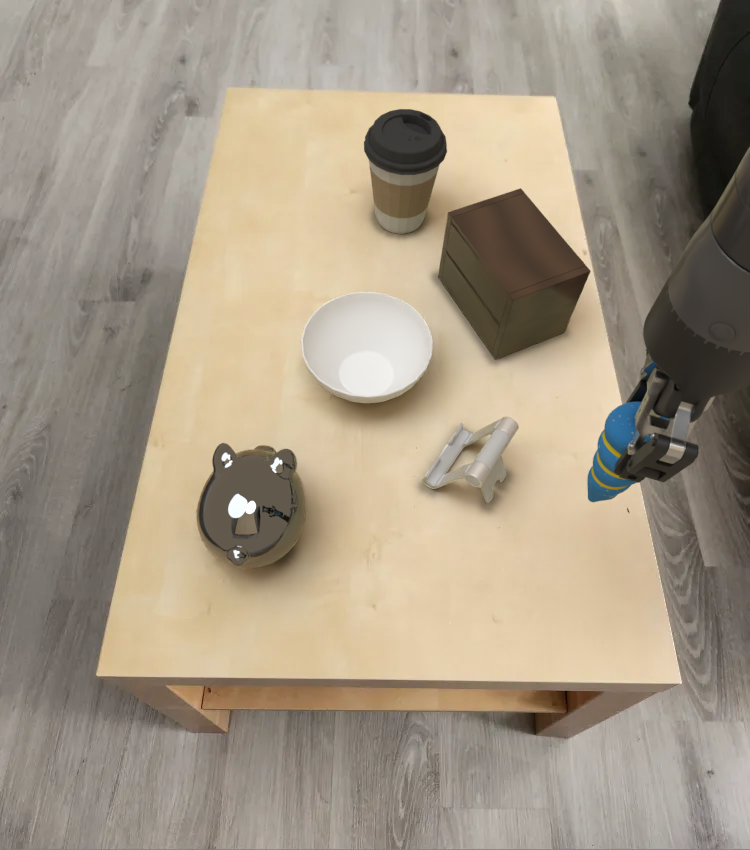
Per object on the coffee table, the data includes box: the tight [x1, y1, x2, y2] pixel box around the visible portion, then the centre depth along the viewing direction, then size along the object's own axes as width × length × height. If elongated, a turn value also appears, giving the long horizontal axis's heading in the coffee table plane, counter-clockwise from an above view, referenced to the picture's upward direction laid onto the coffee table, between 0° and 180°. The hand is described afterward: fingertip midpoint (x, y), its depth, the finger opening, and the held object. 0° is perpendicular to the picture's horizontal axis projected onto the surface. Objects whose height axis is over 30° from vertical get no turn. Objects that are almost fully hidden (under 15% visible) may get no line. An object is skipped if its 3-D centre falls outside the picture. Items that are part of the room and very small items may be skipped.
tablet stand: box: [422, 416, 520, 504], centre depth 78 cm, size 9×8×8 cm
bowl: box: [300, 290, 434, 404], centre depth 85 cm, size 16×16×7 cm
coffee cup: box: [363, 108, 448, 235], centre depth 97 cm, size 11×11×15 cm
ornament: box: [586, 402, 670, 503], centre depth 55 cm, size 5×5×15 cm
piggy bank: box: [196, 442, 307, 570], centre depth 72 cm, size 11×15×12 cm
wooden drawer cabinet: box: [437, 188, 591, 361], centre depth 90 cm, size 11×16×12 cm
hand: (632, 441), depth 53 cm, fingers closed on ornament, 5 cm apart
